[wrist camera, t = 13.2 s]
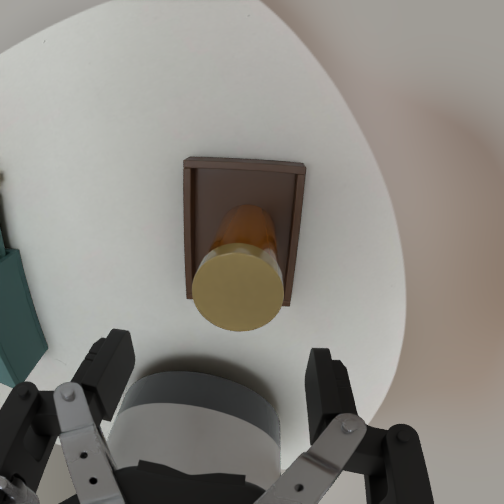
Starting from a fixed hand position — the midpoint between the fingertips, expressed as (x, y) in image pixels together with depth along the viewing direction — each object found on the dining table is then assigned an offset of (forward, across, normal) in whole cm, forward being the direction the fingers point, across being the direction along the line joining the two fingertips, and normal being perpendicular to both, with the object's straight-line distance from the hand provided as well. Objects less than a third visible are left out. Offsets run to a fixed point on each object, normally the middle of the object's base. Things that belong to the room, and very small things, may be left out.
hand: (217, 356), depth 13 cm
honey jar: (+15, 0, 0) cm, 15 cm away
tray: (+16, 0, 0) cm, 16 cm away
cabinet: (+15, +32, +11) cm, 37 cm away
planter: (+16, +4, +24) cm, 29 cm away
